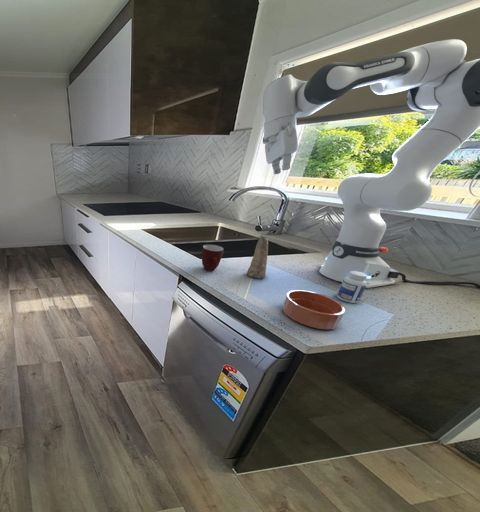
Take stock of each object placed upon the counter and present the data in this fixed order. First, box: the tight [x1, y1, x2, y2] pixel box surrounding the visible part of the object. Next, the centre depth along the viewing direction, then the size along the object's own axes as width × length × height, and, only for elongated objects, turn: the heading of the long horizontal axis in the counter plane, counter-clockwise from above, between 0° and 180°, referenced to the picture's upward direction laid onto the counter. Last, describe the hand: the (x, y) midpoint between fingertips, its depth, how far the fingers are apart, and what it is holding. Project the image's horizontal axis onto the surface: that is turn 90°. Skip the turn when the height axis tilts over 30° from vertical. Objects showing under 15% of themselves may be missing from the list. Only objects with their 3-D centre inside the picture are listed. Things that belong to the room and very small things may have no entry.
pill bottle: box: [336, 271, 367, 304], centre depth 81 cm, size 5×5×10 cm
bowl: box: [281, 289, 346, 330], centre depth 73 cm, size 13×13×6 cm
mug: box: [201, 244, 225, 272], centre depth 102 cm, size 10×8×10 cm
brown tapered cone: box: [246, 235, 269, 280], centre depth 95 cm, size 6×18×6 cm
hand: (281, 172), depth 84 cm, fingers open, 8 cm apart
